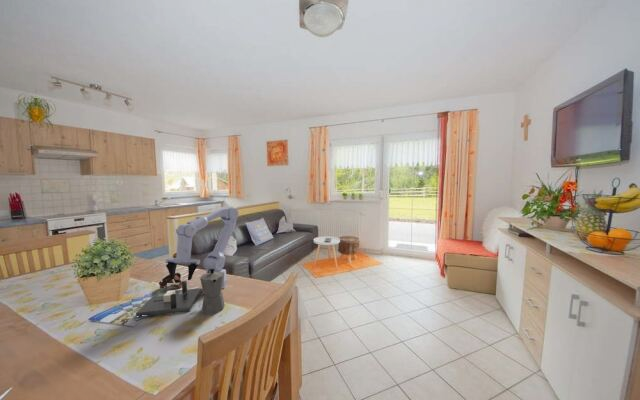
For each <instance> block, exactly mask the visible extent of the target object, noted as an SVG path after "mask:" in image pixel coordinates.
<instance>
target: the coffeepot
mask: <svg viewBox="0 0 640 400" xmlns="http://www.w3.org/2000/svg"><path fill="white" fill-rule="evenodd" d="M223 276H224V273H222V272H214V269H209V270H208V273H207V274H206V273H204V274H202V275H201V276H200V277H199V279H200V283H201V288H202V293H204V294H203V295H204V296H203V298H202V299H203V300H202V307H201V312H202V313H203V314H205V315H213V314H217V313H219V312H221V311H223V310H224V308H225V305H226V304H225V299H224V295H223V292H222V290H223V289H222V284H223Z"/></svg>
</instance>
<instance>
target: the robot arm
mask: <svg viewBox="0 0 640 400" xmlns="http://www.w3.org/2000/svg"><path fill="white" fill-rule="evenodd" d="M239 215H240V213H239V210H238V208H237V207H236V206H224V205H223V206H220V207H217V208H216V209H215V210H213V211H212V212H210V213H208V214H207V215H205V216H202V215H197V216H195V218H194V219H192V220H188V221H187V222H186V223H181V224H179V226H178V227H177V229H175V231H176V234H177V246H176V257H167V258H165V267H166V269H167V271H168V273H169V274H170V280H172V279H173V280H174V278H175V273H176V269H177V266H178V264H186V265H187V267H188V269H187V271H188V273H187V274H188V275H187V281H191V280H192V279H193V275H194V273H195V271H196V269H197V268H198V266H199V265H200V264H201V259H199V258H198V259H197V258H191V254H192V247H193V245H192V244H193V237H195V235H196V233H197V232H198V231H201V230H202V229H204V228H205V227H207V226H208V223H210V222H212V221H213V220H214V221H215V220H217V219H218V218H220V219H221V220H222V221H223V223H224V226H223V227H222V230H221V233H220V234H219V237H218V239H217V242H216V244H215V246H214V248H213V250H212V251H211V252H209V253H208V254H207V256H206V257H205V258H204V259H203V262H202V266H203V268H204V269H205V272H206V273H205V274H207V273H208V270H209V269H214V272H222V273H224V276H223V284H222V289H221V290H223V289H224V288H225V287H226V285H227V269H224V267H225V261H226V256H225V255H224V254H225V251H226V249H227V246H228V244H229V241H230V239H231V236H232V235H233V233H234V229H235V227H236V225H237V221H238V217H239ZM169 274H168V275H169Z"/></svg>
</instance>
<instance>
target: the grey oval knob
mask: <svg viewBox="0 0 640 400" xmlns="http://www.w3.org/2000/svg"><path fill="white" fill-rule="evenodd" d="M181 282H182V287H181V290H182V292H187V289H188V286H187V283H188V280H183V281H182V280H181Z"/></svg>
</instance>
